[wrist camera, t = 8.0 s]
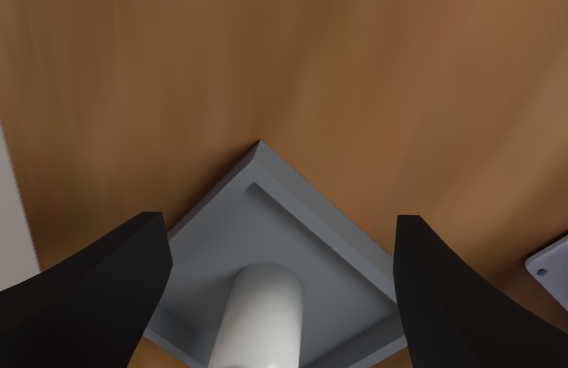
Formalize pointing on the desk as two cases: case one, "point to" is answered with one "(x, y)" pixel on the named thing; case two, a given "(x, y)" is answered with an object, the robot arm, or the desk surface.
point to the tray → (284, 251)
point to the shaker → (261, 320)
